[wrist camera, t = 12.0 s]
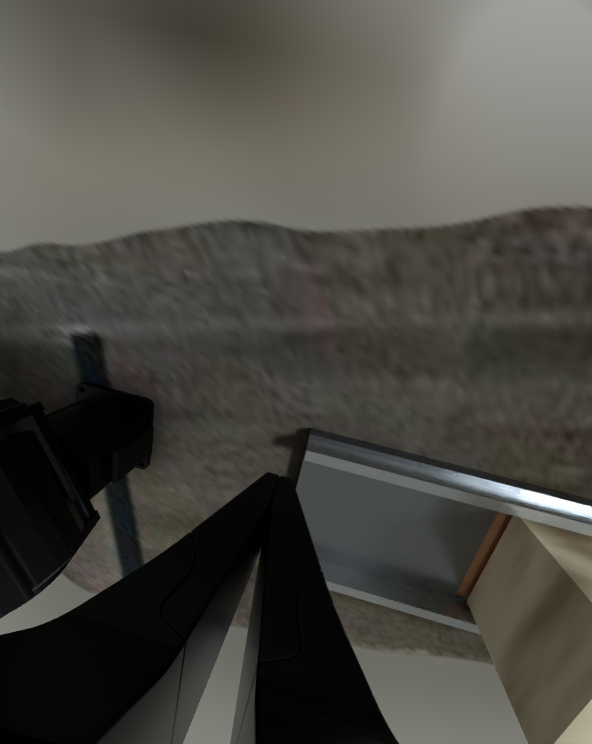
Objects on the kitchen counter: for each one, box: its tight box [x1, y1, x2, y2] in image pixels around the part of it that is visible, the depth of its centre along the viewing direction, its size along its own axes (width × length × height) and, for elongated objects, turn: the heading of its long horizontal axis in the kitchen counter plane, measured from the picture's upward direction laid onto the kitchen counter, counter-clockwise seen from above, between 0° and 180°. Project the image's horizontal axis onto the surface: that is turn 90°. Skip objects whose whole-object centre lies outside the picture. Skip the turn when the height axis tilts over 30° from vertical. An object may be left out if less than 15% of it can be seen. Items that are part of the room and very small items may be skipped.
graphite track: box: [296, 428, 592, 635], centre depth 20 cm, size 29×12×4 cm, turn 77°
